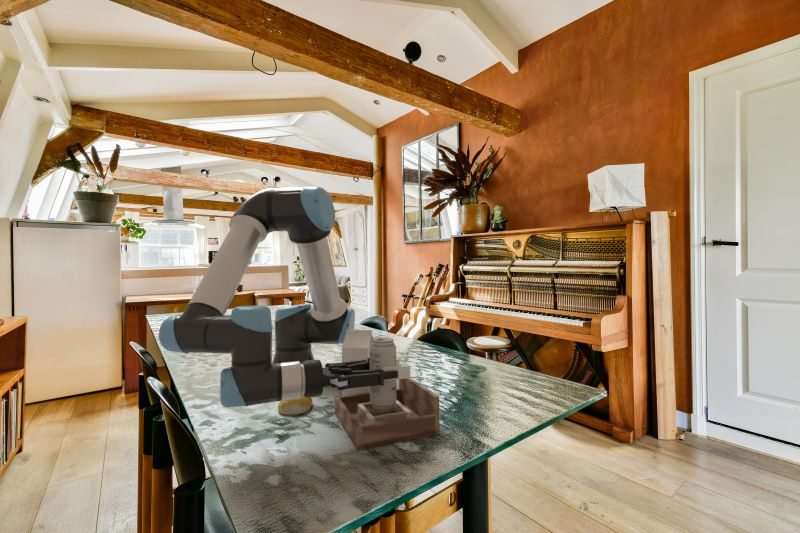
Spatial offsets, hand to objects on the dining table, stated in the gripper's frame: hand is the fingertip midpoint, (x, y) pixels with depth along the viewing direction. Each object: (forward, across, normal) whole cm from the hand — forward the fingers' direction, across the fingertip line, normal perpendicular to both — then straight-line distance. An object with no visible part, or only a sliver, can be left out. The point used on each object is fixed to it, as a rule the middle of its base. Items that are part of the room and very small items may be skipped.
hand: (403, 367), depth 87 cm
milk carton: (-6, -16, -12) cm, 21 cm away
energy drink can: (-5, 0, -8) cm, 10 cm away
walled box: (-5, 0, -12) cm, 13 cm away
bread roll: (-22, -18, -12) cm, 31 cm away
